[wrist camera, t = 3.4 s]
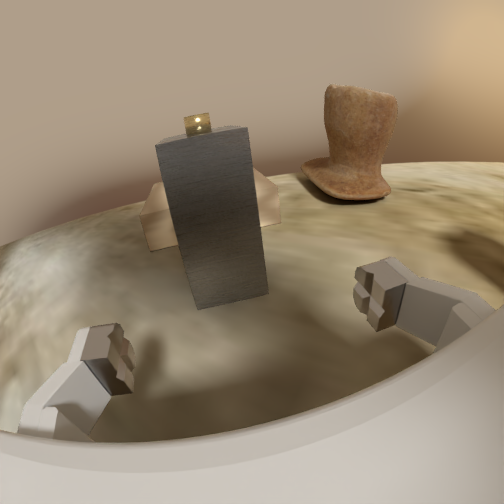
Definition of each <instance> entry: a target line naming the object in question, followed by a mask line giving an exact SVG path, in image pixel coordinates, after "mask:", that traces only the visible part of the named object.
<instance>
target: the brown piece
mask: <svg viewBox="0 0 504 504" xmlns="http://www.w3.org/2000/svg"><path fill="white" fill-rule="evenodd" d="M397 114H398V108H397V101H396V99H395V97H394V96H393V95H391V94H387V93H383V92H375V91H373V90H370V89H365V88H360V87H355V86H340V85H335V84H330V85H329V86H328V87H327V90H326V92H325V104H324V122H325V128H326V132H327V137H328V140H329V149H330V157H326V158H325V157H324V158H317V159H313V160H310V161H308V162H305V163H304V164H302V166H301V170H302V171H303V173H304V174H305V175H306V176H307V177H308V178H309V179H310V180H311V181H312V182H313V183H314V184H315V185H316V186H318V187H319V188H320V189H321V190H322V191H324V192H325V193H327V194H328V195H330V196H333V197H335V198H339V199H345V200H369V199H376V198H382V197H384V196H387V195H389V194H390V192H391V188H390V186H389V185H388V184H387V182H386V181H385V180H384V179H383V177H382V175H381V163H382V159H383V155H384V153H385V150H386V148H387V145H388V143H389V141H390V138H391V136H392V133H393V130H394V127H395V124H396V120H397Z"/></svg>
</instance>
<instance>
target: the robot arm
mask: <svg viewBox="0 0 504 504" xmlns="http://www.w3.org/2000/svg"><path fill="white" fill-rule="evenodd" d="M355 279H356V280H357V281H358V282H357V284H356V285H355V287H354V289H353V298H354V302H355V305H356V307H357V309H358V310H359V311H360V312H361V313H363V314H366V315H367V321H368V322H369V324H370V325H371V326H372V327H373V329H374V330H375V331H376V332H378V331H381V330H383V329H386V328H388V327H391V326H394V325H396V326H397V327H399V328H401V329H403V330H405V331H407V332H409V333H411V334H413V335H415V336H417V337H419V338H421V339H423V340H425V341H427V342H428V343H430V344H432V345H434V346H436V348H435V350H434V352H433V354H432V355H430V356H428V357H427V358H425V359H423V360H421V361H420V362H418V363H416V364H414V365H412V366H410V367H409V368H407V369H405V370H403V371H401V372H399V373H397V374H395V375H393V376H391V377H389V378H387V379H385V380H383V381H381V382H378V383H376V384H374V385H372V386H370V387H367V388H365V389H363V390H360V391H358V392H356V393H353V394H351V395H348V396H346V397H343V398H341V399H338V400H336V401H333V402H330V403H328V404H325V405H322V406H319V407H316V408H314V409H311V410H308V411H305V412H301V413H298V414H295V415H292V416H288V417H285V418H282V419H278V420H274V421H271V422H267V423H263V424H259V425H255V426H251V427H246V428H242V429H237V430H232V431H227V432H222V433H217V434H211V435H205V436H198V437H191V438H183V439H174V440H164V441H151V442H129V443H98V442H95V441H94V440H92V439H91V438H90V437H89V436H88V435H89V433H90V432H91V430H92V428H93V427H94V425H95V423H96V422H97V420H98V418H99V417H100V415H101V413H102V412H103V410H104V408H105V407H106V405H107V404H108V402H109V400H110V399H111V396H113V395H122V394H131V393H133V387H134V376H133V375H132V373H131V372H132V371H133V369H134V368H135V363H136V359H135V353H134V350H133V347H132V345H131V343H130V341H129V340H127V339H125V338H124V337H123V335H124V330H123V329H122V327H121V325H120V324H118V323H112V324H105V325H98V326H92V327H85V328H80V329H79V330H78V331H77V334H76V337H75V340H74V342H73V345H72V348H71V351H70V355H69V358H68V361H67V362H66V363H63V364H62V365H61V366H60V367H59V368H58V369H57V370H56V371H55V372H54V373H53V374H52V375H51V376H50V377H49V378H48V379H47V381H46V382H45V383H44V384H43V385H42V386H41V387H40V388H39V389H38V390H37V391H36V392H35V393H34V394H33V396H32V397H31V398H30V399H29V400H28V401H27V402H26V403H25V405H24V408H23V412H22V416H21V419H20V423H19V427H18V432H17V433H12V432H7V431H3V430H0V504H504V304H503V305H502V306H501V307H500V308H499V309H497V310H495V309H494V308H492V307H491V306H490V305H489V304H488V303H487V302H486V301H485V300H483V299H482V298H481V297H480V296H479V295H478V294H476V293H475V292H472V291H468V290H465V289H462V288H458V287H455V286H452V285H448V284H445V283H442V282H438V281H435V280H431V279H428V278H424V277H421V278H419V277H418V276H417V275H416V274H414V273H413V272H412V271H411V270H410V269H408V268H407V267H406V266H405V265H403V264H402V263H401V262H400V261H399V260H397V259H396V258H395V257H388V258H385V259H382V260H380V261H377V262H374V263H371V264H367V265H364V266H360V267H357V269H356V271H355Z"/></svg>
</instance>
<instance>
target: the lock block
mask: <svg viewBox="0 0 504 504" xmlns="http://www.w3.org/2000/svg"><path fill="white" fill-rule="evenodd" d="M184 123H185V128H186V134H183V135H178V136H173V137H169V138H165V139H163V140H162V141H160V142H159V143H158V144H156V145H155V147H156V152H157V157H158V162H159V167H160V171H161V176H162V180H163V185H164V189H165V193H166V198H167V202H168V206H169V210H170V214H171V218H172V222H173V226H174V230H175V234H176V237H177V241H178V245H179V248H180V252H181V256H182V259H183V263H184V266H185V270H186V273H187V277H188V280H189V283H190V287H191V290H192V293H193V296H194V300H195V303H196V306H197V309H198V310H201V309H205V308H210V307H214V306H219V305H223V304H227V303H232V302H236V301H240V300H245V299H249V298H253V297H257V296H261V295H265V294H269V293H268V284H267V276H266V267H265V259H264V251H263V243H262V235H261V227H260V219H259V211H258V203H257V195H256V187H255V180H254V172H253V165H252V158H251V149H250V142H249V135H248V128H247V127H238V126H225V127H219V128H213V129H211V124H210V118H209V113H204V114H198V115H193V116H188V117H184Z"/></svg>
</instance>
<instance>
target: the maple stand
mask: <svg viewBox="0 0 504 504" xmlns="http://www.w3.org/2000/svg"><path fill="white" fill-rule="evenodd" d="M253 172H254V180H255V187H256V195H257V203H258V211H259V219H260V227H263V226H268V225H272V224H277V223H281V216H280V206H279V195H278V186H276V185H275V184H274V183H272V182H271V181H270V180H269V179H267V178H266V177H264V176H263V175H262V174H261V173H259V172H258V171H257V170H255V169H254V168H253ZM140 219H141V223H142V226H143V230H144V233H145V236H146V239H147V243H148V246H149V249H150V251H154V250H158V249H163V248H167V247H171V246H176V245H178V241H177V237H176V234H175V230H174V226H173V222H172V218H171V214H170V210H169V206H168V202H167V198H166V193H165V189H164V185H163V182H160V183H156V184H154V186H153V188H152V190H151V192H150V194H149V196H148V198H147V200H146V202H145V205H144V207H143V209H142V211H141V213H140Z"/></svg>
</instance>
